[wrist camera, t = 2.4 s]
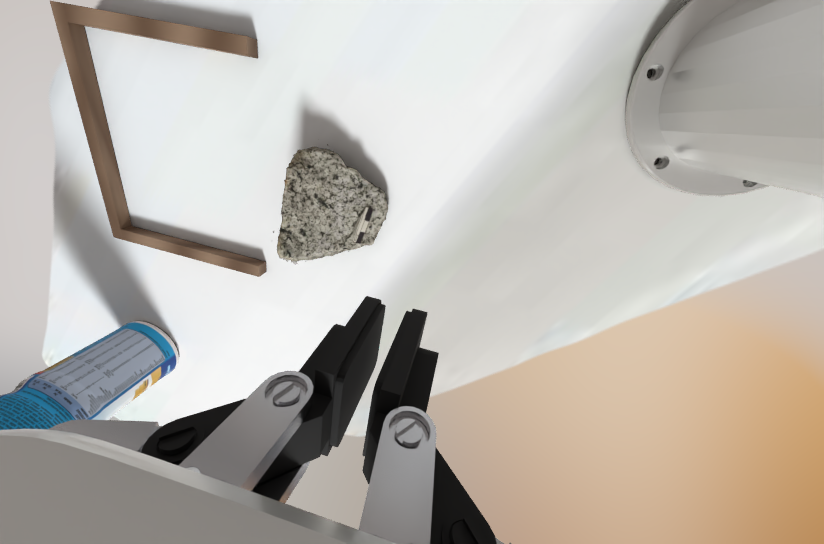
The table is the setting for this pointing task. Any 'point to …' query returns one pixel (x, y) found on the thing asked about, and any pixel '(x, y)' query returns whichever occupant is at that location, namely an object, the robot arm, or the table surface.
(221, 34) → the frame
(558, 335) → the table surface
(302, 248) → the rock sample
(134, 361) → the beverage bottle
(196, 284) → the table surface
